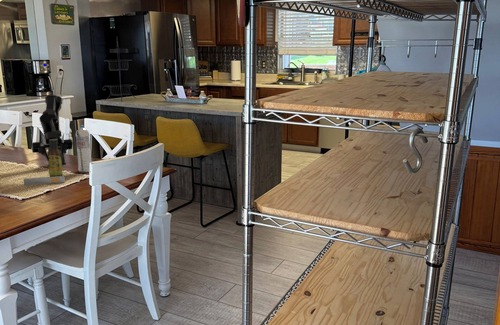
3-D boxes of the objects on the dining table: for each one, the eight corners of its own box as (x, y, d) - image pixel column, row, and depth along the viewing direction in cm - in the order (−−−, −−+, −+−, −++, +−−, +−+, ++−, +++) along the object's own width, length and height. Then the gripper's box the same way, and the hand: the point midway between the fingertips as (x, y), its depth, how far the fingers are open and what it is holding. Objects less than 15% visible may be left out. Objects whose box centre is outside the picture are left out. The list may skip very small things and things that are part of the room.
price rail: (24, 185, 212) (23, 179, 211) (24, 185, 213) (23, 178, 212) (64, 182, 217) (63, 176, 216) (64, 182, 218) (64, 175, 217)
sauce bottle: (47, 179, 220) (43, 140, 215) (52, 176, 226) (47, 137, 221) (61, 179, 221) (57, 140, 216) (65, 175, 227) (61, 137, 222)
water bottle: (75, 171, 237) (71, 125, 231) (85, 168, 243) (82, 123, 237) (84, 173, 234) (81, 126, 228) (94, 170, 240) (91, 124, 234)
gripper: (29, 126, 215) (34, 153, 209) (70, 123, 225) (76, 149, 218) (30, 139, 224) (34, 165, 217) (69, 136, 233) (74, 161, 227)
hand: (55, 159), depth 220 cm, fingers closed on sauce bottle, 6 cm apart
